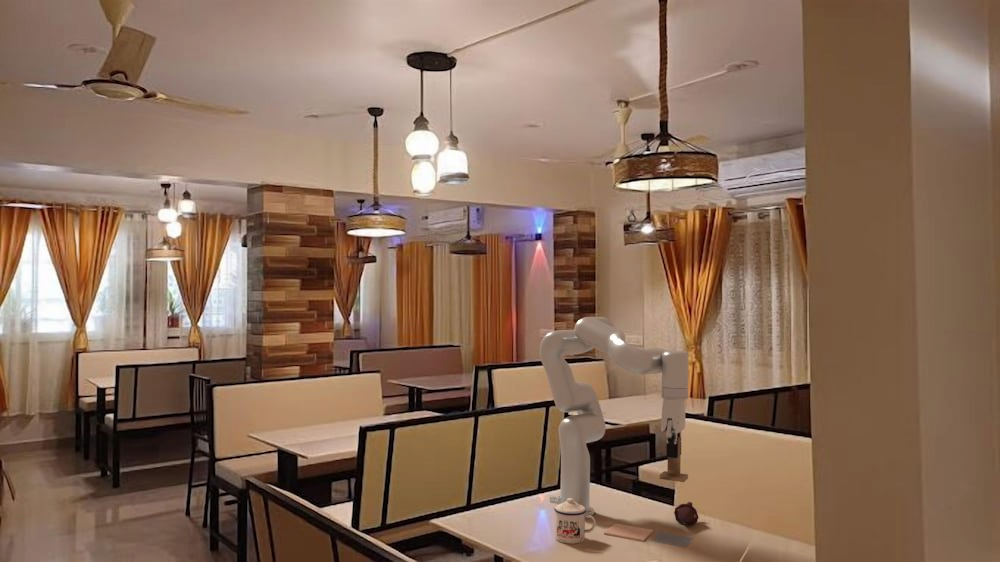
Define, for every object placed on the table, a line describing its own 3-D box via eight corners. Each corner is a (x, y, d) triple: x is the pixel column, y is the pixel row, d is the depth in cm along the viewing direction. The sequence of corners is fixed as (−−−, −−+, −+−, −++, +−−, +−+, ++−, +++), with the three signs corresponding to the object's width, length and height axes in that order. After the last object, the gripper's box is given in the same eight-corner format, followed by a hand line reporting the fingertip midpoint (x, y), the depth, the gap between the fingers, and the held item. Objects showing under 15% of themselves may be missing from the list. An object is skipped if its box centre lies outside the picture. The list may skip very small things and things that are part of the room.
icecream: (699, 513, 216) (703, 504, 230) (675, 503, 218) (680, 495, 232) (692, 535, 215) (697, 525, 229) (668, 525, 218) (674, 516, 232)
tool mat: (651, 542, 208) (651, 540, 208) (660, 533, 215) (660, 532, 215) (686, 548, 203) (686, 547, 203) (693, 539, 211) (693, 538, 211)
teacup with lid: (552, 542, 206) (552, 501, 206) (556, 532, 215) (557, 493, 215) (594, 546, 203) (594, 505, 203) (596, 536, 212) (597, 496, 212)
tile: (614, 528, 221) (603, 537, 213) (614, 523, 221) (603, 532, 213) (653, 535, 216) (643, 544, 207) (653, 530, 216) (643, 539, 207)
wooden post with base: (659, 478, 209) (660, 436, 209) (664, 475, 213) (664, 434, 214) (683, 482, 206) (684, 439, 206) (687, 478, 210) (688, 436, 210)
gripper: (669, 389, 219) (668, 449, 219) (654, 395, 205) (653, 460, 204) (694, 391, 215) (693, 452, 215) (680, 397, 201) (679, 463, 201)
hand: (673, 455), depth 210 cm, fingers closed on wooden post with base, 3 cm apart
